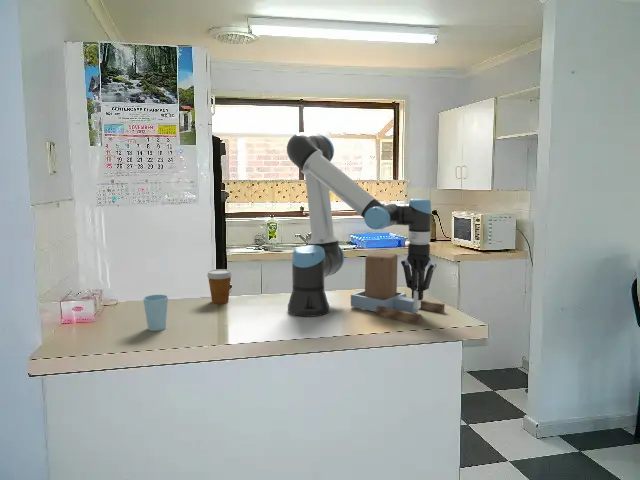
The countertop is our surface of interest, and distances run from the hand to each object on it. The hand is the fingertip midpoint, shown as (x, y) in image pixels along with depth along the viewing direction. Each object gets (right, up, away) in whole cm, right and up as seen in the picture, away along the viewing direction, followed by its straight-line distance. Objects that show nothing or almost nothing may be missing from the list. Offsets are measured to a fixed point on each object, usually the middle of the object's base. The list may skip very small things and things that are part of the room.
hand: (417, 308), depth 185 cm
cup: (-88, -5, -16) cm, 89 cm away
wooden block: (-12, -1, +11) cm, 16 cm away
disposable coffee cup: (-74, 0, +17) cm, 76 cm away
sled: (-9, -1, +8) cm, 12 cm away
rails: (-2, -2, +2) cm, 3 cm away
